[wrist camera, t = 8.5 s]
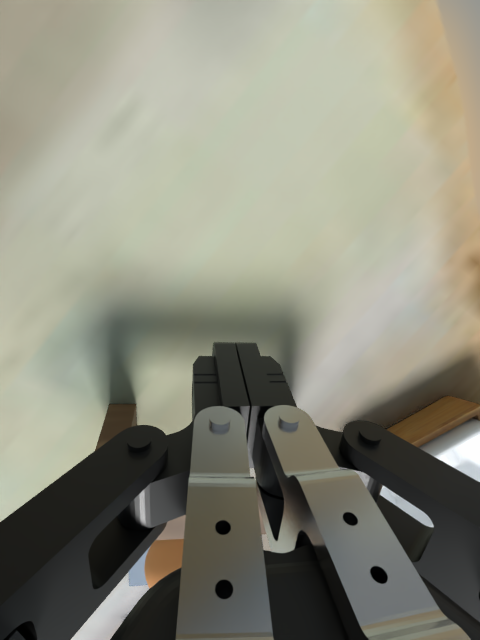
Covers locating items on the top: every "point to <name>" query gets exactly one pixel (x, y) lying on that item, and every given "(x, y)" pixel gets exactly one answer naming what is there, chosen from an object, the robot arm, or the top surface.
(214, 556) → the robot arm
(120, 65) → the top surface
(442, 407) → the soap dish
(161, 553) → the ball
